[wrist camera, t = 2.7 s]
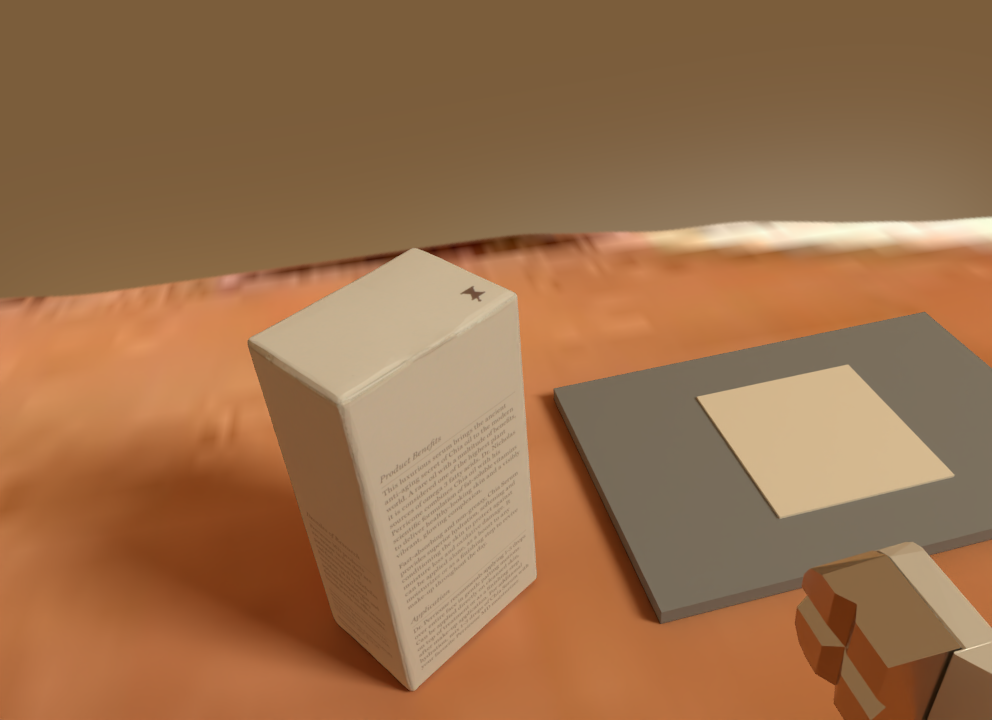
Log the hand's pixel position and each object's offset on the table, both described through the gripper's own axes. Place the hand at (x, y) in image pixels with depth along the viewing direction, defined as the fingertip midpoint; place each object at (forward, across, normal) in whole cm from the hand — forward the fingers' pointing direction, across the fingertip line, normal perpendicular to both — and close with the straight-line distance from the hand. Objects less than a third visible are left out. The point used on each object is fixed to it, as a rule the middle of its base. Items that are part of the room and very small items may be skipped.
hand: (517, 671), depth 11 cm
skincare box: (+12, +1, +14) cm, 19 cm away
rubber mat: (+15, -15, +14) cm, 26 cm away
